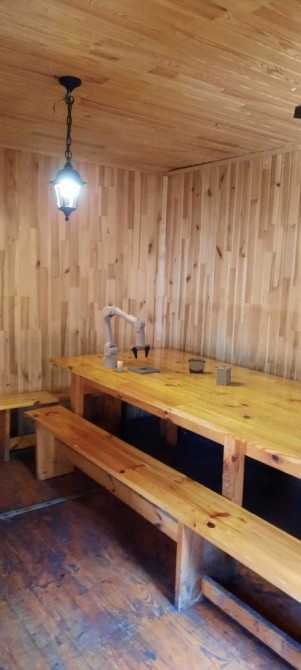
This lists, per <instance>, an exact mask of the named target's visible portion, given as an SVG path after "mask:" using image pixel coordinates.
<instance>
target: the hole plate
mask: <svg viewBox="0 0 301 670" xmlns="http://www.w3.org/2000/svg"><path fill="white" fill-rule="evenodd" d="M127 372H133V373H136V374H138V375H141V376H143V375H149V374H150V375H151V374H161V369H157V368H155V367H152V366H151V367H150V366H149V365H143V366H135V367H133V366H132V367H127Z"/></svg>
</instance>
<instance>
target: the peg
mask: <svg viewBox="0 0 301 670" xmlns="http://www.w3.org/2000/svg"><path fill="white" fill-rule="evenodd" d="M116 364H117V365H116V370H117V372H123V370H124V361H123V360H116Z"/></svg>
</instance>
